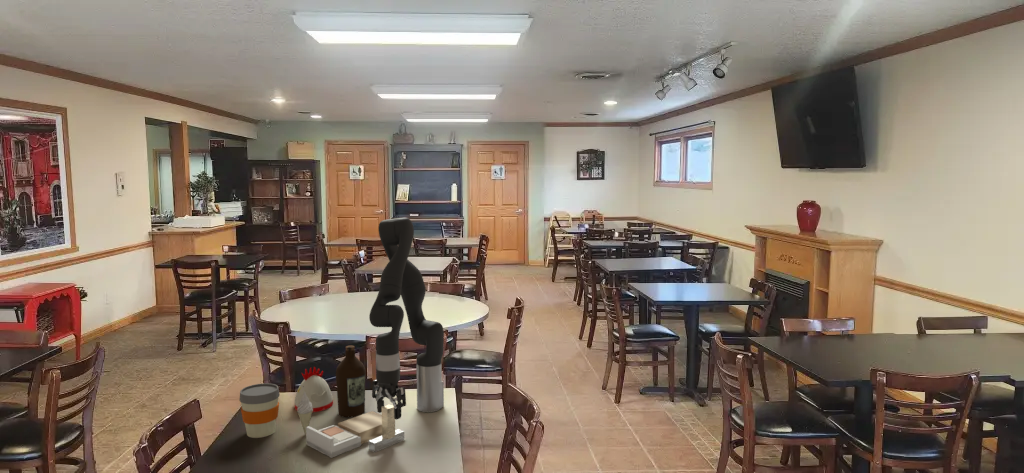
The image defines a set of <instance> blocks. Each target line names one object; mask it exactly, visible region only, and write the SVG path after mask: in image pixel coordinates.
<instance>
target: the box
mask: <svg viewBox="0 0 1024 473" xmlns="http://www.w3.org/2000/svg"><path fill="white" fill-rule="evenodd" d="M333 427H337V428H340V427H338V425H334V424H332V425H329V426H327V427H326V426H325V427H324V428H320V429H318V430H317V429H316V428H315V427H312V426H310V425H309V426H308V427H306V436H305V437H306V446H308V447H310V448H312V449H313V450H315V451H318V452H319V453H321V454H323V455H325V456H327V457H329V458H330V459H331V458H334V457H337V456H340V455H342V454H344V453H345V454H346V453H348V452H349V451H352V450H354V449H357V448H360V447H361V446H362V444H361V437H360V436H357V435H355V434H353V433H351V432H349V431H347V430H345V429H343V428H340V429H342V430H344V431H345V432H347V433H349V434H351V435H354V437H352V438H349V439H346V440H344V441H341V442H338V443H336V444H334V438H332V437H330V436H328V435H326V434H324V433H322V431H324V430H327V429H330V428H333Z"/></svg>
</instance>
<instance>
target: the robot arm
mask: <svg viewBox="0 0 1024 473" xmlns="http://www.w3.org/2000/svg"><path fill="white" fill-rule="evenodd" d="M414 229H415V228H414V224H413V222H412V220H411V219H410V218H409V217H395V218H388V219H383V220H381V221H380V222H379V224H378V236H379V239H380V242H381V244H382V247H383V249H384V251H385V253H386V254H385V255H386V256H387V258H388V262H387V264H386V265H385V267H384V268H383V270H382V273H381V275H380V280H379V281H380V282H379V288H378V292H377V293H378V294H377V295H376V299H375V301H374V303H373V304H372V306H371V309H370V311H369V318H368V319H369V323H370V324H371V325H372V326H373V327H375V328H391V331H388V332H384V333H380V334H378V335H377V336H376V339H375V341H376V342H375V345H376V349H375V350H376V353H375V354H376V356H375V357H376V358H375V379H374V380H372V381H371V392H372V393H371V398H372V399H374V400H375V402H376V411H377V412H376V413H378V414H382V407H383V406H385V400H384V399H385V398H386V399H388V400H389V402H390V403H391V404H392V406H394V419H395V421H396V420H399V419H401V418H402V408H403V407H405V406H407V399H406V398H407V396H406V388H405V387H399V384H398V383H399V381H400V380H401V358H400V349H399V348H400V344H399V343H400V342H399V339H400V333H401V328H402V324H403V321H404V316H405V312H406V316H407V321H408V326H409V330H410V334H411V337H412V341H414V343H416V344H417V345H422V346H426V347H425V352H423V353H420V354H418V355H417V356H416V409H417V410H418V411H419V412H424V413H433V412H437V411H439V410H441V409H442V408H443V407H444V406H445V404H444V403H445V398H444V396H445V395H444V393H445V392H444V389H445V386H444V381H443V378H442V377H443V376H442V359H443V356H444V340H445V331H444V330H445V329H444V326H443V325H442V324H441V322H437V321H433V320H427V319H426V317H425V315H424V312H423V302H424V299H425V296H426V285H425V281H424V278H423V274H422V272H421V271H420V270H419V268H418V267H417V266H416V265H415V264H414V263H413V262H412V261H410V260H409V259H408V258H409V256H410V251H411V247H412V245H413V241H414V237H415V236H414V233H415V230H414ZM400 298H401V299H402V302H403V305H404V309H405V312H404V309H403V308H402V306H400V305H398V304H389V303H392V302H396V301H398V300H400Z"/></svg>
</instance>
